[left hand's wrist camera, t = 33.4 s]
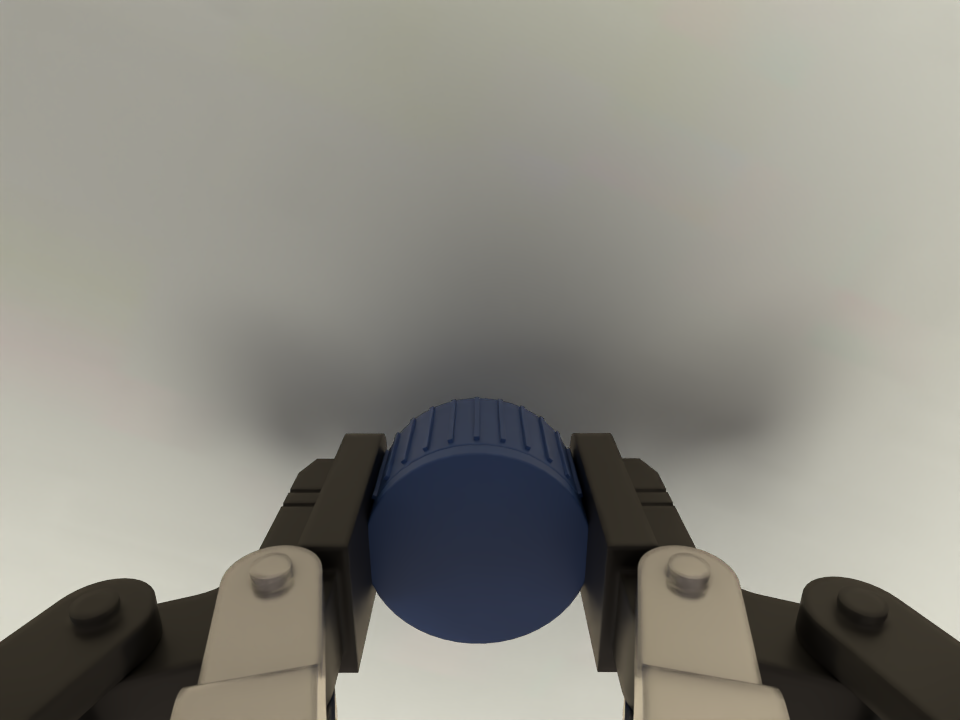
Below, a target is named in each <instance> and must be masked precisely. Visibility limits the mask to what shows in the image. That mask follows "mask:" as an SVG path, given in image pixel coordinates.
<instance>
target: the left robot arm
mask: <svg viewBox="0 0 960 720" xmlns="http://www.w3.org/2000/svg"><path fill="white" fill-rule="evenodd" d="M386 450H387V443H386V437H385V434H345V436H344V438H343V440H342V443H341V445H340V447H339V450H338V452H337V454H336V457H335V459H316V460H315V461H314V462H312V463H311V464H310V465H309V466H307V467H306V468H305V469H303V470H302V471H301V472H300V473H299V474H298V476H297V478H296V479H295V481H294V483H293V485H292V487H291V489H290V493H288V495H287V497H286V499H285V501H284V503H283V507H281V508H280V510H279V512H278V514H277V516H276V518H275V520H274V522H273V524H272V526H271V528H270V530H269V532H268V534H267V536H266V537H265V539H264V541H263V543H262V545H261V547H260V549H259V550H257V551H255V552H252V553H250V554H248V555H246V556H244V557H242V558H241V559H239V560H238V561H236V562H235V563H234V564H233V565H232V566H230V568H229V569H228V570H227V571H226V572H225V574H224V575H223V577H222V580H221V583H220V587H219V588H217V589H214V590H211V591H209V592H206V593H202V594H199V595H195V596H190V597H186V598H181V599H177V600H172V601H168V602H163V603H159V604H157V600H156V596H155V592H154V590H153V589H152V587H151V586H150V585H148V584H147V583H145V582H143V581H141V580H136V579H128V578H122V579H112V580H106V581H102V582H97V583H94V584H91V585H88V586H86V587H83V588H81V589H79V590H77V591H75V592H73V593H71V594H69V595H67V596H66V597H64V598H62V599H61V600H59V601H58V602H56V603H55V604H54V605H52V606H51V607H49V608H48V609H46V610H45V611H44V612H42V613H41V614H39V615H38V616H37V617H35V618H34V619H32V620H31V621H29V622H28V623H27V624H25V625H24V626H22V627H21V628H19V629H18V630H17V631H15V632H14V633H12V634H11V635H9V636H8V637H7V638H5V639H4V640H2V641H1V642H0V720H337V705H336V695H335V684H336V680H337V676H338V673H358V671H359V667H360V662H361V658H362V653H363V649H364V644H365V640H366V635H367V630H368V626H369V621H370V617H371V612H372V608H373V603H374V599H375V594H376V590H375V588H374V586H373V585H372V578H371V564H370V550H369V536H368V519H369V516H370V513H371V509H372V505H373V502H374V499H371V498H372V494H373V491H374V488H375V484H376V481H377V477H378V474H379V470H380V467H381V464H382V460H383V457H384V453H385V451H386ZM570 450H571V453H572V457H573V461H574V464H575V468H576V471H577V475H578V478H579V482H580V486H581V489H582V493H583V497H582V502H583V505H584V509H585V513H586V516H587V520H588V541H587V555H586V570H585V582H584V584H583V586H582V588H581V590H580V592H581V596H582V601H583V606H584V610H585V615H586V620H587V624H588V629H589V634H590V638H591V643H592V648H593V652H594V657H595V662H596V667H597V671H598V672H617V673H618V677H619V681H620V685H621V689H622V692H623V695H624V705H623V720H960V642H959V641H958V640H956V639H955V638H953V637H952V636H951V635H949V634H948V633H946V632H945V631H943V630H942V629H941V628H939V627H938V626H936V625H935V624H933V623H932V622H931V621H929V620H928V619H926V618H925V617H923V616H922V615H921V614H919V613H918V612H916V611H915V610H914V609H912V608H911V607H909V606H908V605H906V604H905V603H904V602H902V601H901V600H899V599H898V598H896V597H895V596H893V595H892V594H890V593H888V592H886V591H884V590H882V589H881V588H878V587H876V586H874V585H871V584H868V583H865V582H862V581H859V580H855V579H851V578H844V577H823V578H818V579H815V580H813V581H811V582H810V583H808V584H807V585H806V586H805V588H804V590H803V593H802V597H801V602H800V603H795V602H791V601H786V600H781V599H777V598H772V597H768V596H763V595H759V594H755V593H752V592H748V591H746V590H743V589H741V587H740V583H739V580H738V577H737V575H736V574H735V572H734V571H733V570H732V569H731V568H730V566H728V565H727V564H726V563H725V562H724V561H722V560H721V559H719V558H718V557H716V556H714V555H712V554H710V553H708V552H705V551H703V550H700V549H696V547H695V545H694V543H693V541H692V539H691V537H690V535H689V533H688V531H687V530H686V528H685V526H684V524H683V522H682V520H681V518H680V516H679V514H678V512H677V510H676V508H675V506H673V502H672V500H671V498H670V496H669V494H668V492H666V488H665V486H664V484H663V482H662V480H661V478H660V476H659V474H658V473H657V472H656V471H655V470H654V469H652V468H651V467H650V466H648V465H647V464H646V463H645V462H643V461H642V460H641V459H639V458H621V455H620V453H619V450H618V448H617V446H616V443H615V441H614V439H613V436H612V434H611V433H573V434H572V436H571V442H570Z"/></svg>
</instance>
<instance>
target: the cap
mask: <svg viewBox="0 0 960 720" xmlns="http://www.w3.org/2000/svg"><path fill="white" fill-rule="evenodd" d="M582 497H583V493H582V489H581V486H580V482H579V478H578V475H577V471H576V468H575V464H574V461H573V457H572V453H571V450H570V448H567V449H566V447H565V445H564V444H563V442H562V440H561V437H560V433H559V432H558V431H556V432H555V431H554V430H553V429H552V428H551V427H550V426H549V425H548V424H547V423H546V422H545V421H544V418H542V417H541V416H540V418H539V417H538V416H536V415H535V414H534V413H532V412H530V411H528V410H526V409H525V407H523V406H517V405H514V404H512V403H508V402H504V401H503V400H501V399H498V400H494V399H486V398H479V397H475V398H470V399H462V400H456V399H455V400H451V402H448V403H445V404H442V405H439V406H437V407H434V406H433V407H431V408H430V409H429V410H428V411H426V412H425V413H423V414H421V415H420V416H418V417H417V418H416V419H415V418H412V419H411V420H410V423H409V424H408V425H407V426H406V427H405V428H404V429H403V430H402V431H401V433H397V434H396V435H395V438H394V442H393V444H392V446H391V447H390V449H389V450H386V451H385V453H384V457H383V460H382V464H381V467H380V470H379V474H378V477H377V481H376V484H375V488H374V491H373V494H372V498H371V499H374V502H373V505H372V509H371V513H370V516H369V519H368V536H369V550H370V564H371V578H372V585H373V586H374V588H375V590H376V592H377V593H378V595H379V596H380V598H381V599H382V600H383V601H384V603H385V604H386V605H387V606H388V607H389V608H390V609H391V610H392V611H393V612H394V613H395V614H396V615H397V616H398V617H400V618H401V619H402V620H404V621H405V622H406V623H408V624H410V625H411V626H413V627H415V628H416V629H418V630H420V631H423V632H425V633H427V634H429V635H432V636H435V637H438V638H441V639H445V640H450V641H454V642H461V643H495V642H502V641H506V640H511V639H515V638H518V637H521V636H524V635H527V634H529V633H531V632H533V631H536V630H538V629H540V628H541V627H543V626H545V625H546V624H548V623H550V622H551V621H552V620H554V619H555V618H556V617H557V616H559V615H560V614H561V613H562V612H563V611H564V610H565V609H566V608H567V607H568V606H569V605H570V604H571V603H572V601H573V600H574V599H575V597H576V596H577V595H578V593H579V591H580V590H581V588H582V586H583V584H584V582H585V570H586V555H587V541H588V520H587V516H586V513H585V509H584V505H583V502H582Z"/></svg>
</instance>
